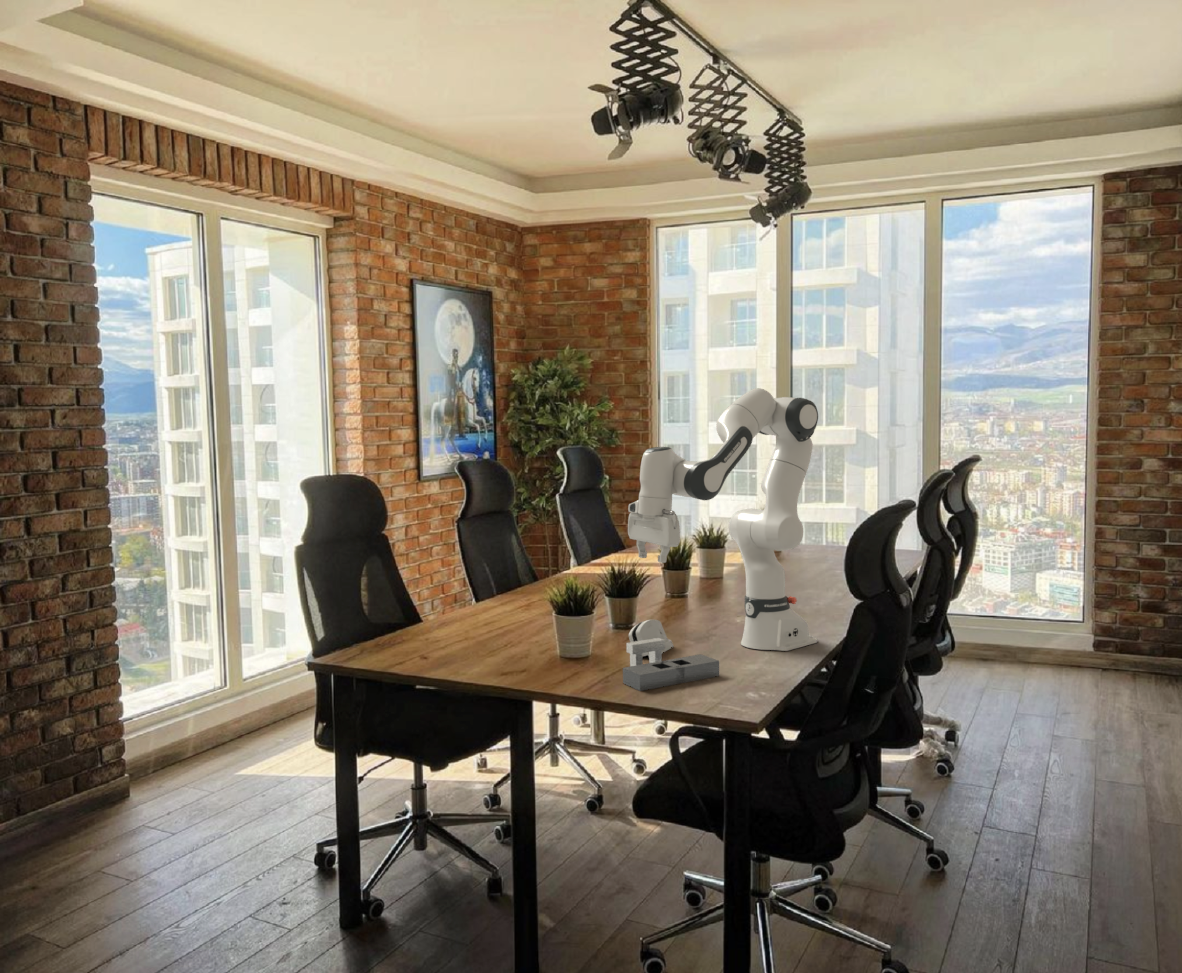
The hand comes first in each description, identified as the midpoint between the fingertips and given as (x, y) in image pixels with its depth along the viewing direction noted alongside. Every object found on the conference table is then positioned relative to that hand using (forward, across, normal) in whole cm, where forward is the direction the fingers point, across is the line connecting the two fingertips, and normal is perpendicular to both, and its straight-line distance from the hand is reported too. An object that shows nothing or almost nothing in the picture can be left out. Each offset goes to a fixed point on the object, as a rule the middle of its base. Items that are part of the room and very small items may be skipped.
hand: (652, 560), depth 259 cm
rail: (+29, -13, +1) cm, 32 cm away
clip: (+29, -1, +1) cm, 29 cm away
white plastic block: (+28, +14, -10) cm, 33 cm away
